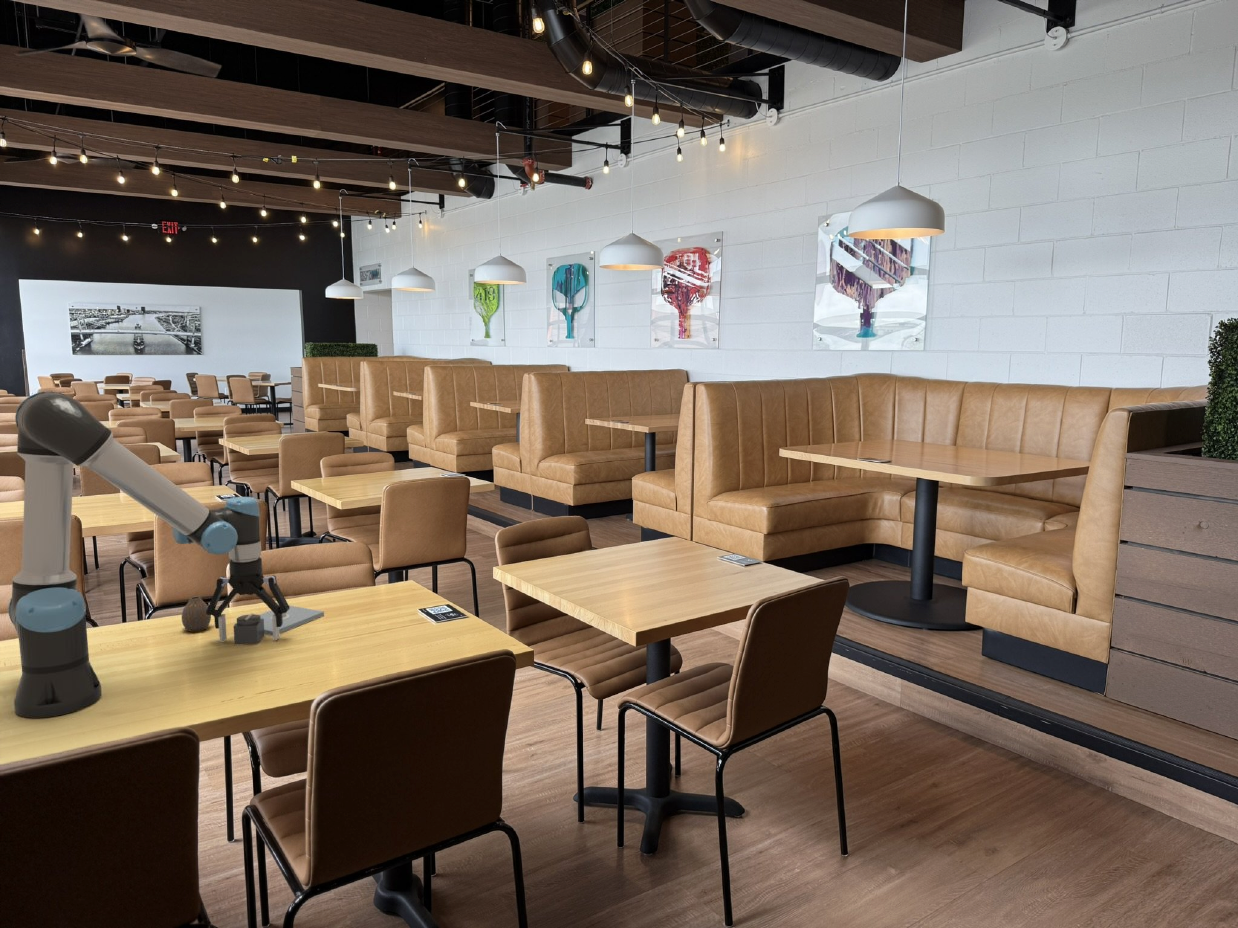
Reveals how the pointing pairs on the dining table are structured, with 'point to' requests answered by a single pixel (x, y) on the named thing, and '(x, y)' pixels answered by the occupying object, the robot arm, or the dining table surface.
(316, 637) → the dining table surface
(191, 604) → the vase
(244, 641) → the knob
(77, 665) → the robot arm
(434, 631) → the dining table surface
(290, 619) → the gray rectangular base plate
